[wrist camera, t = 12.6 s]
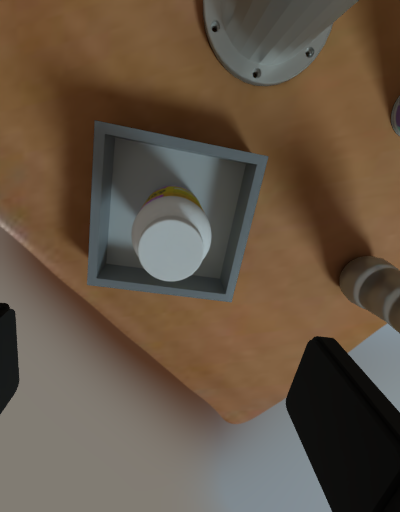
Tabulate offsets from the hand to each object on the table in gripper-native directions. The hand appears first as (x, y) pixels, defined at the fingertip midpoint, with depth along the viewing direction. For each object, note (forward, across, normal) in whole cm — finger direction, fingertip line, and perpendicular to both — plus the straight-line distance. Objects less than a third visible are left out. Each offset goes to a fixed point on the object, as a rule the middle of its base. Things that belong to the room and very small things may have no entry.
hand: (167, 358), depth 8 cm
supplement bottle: (+24, 0, 0) cm, 24 cm away
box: (+24, 0, 0) cm, 24 cm away
